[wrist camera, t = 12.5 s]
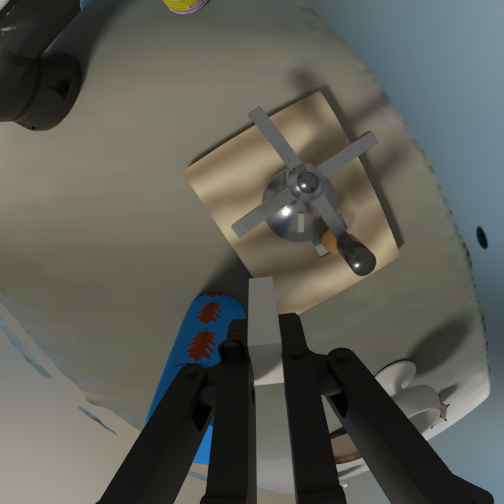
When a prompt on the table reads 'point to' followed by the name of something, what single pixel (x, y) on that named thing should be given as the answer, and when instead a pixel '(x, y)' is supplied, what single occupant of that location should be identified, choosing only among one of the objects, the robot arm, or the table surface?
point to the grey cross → (307, 197)
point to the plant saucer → (344, 448)
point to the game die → (441, 414)
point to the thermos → (199, 348)
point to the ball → (329, 242)
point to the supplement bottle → (184, 5)
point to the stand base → (250, 196)
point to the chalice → (410, 394)
